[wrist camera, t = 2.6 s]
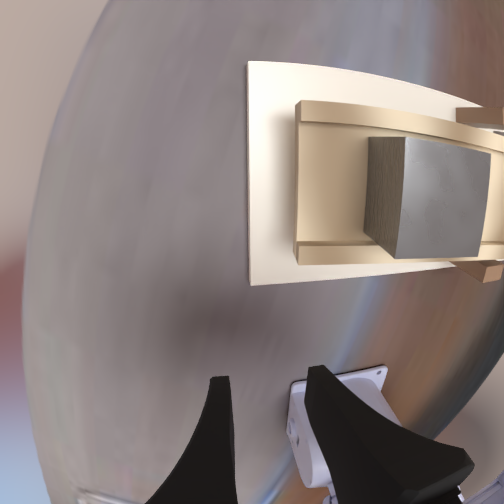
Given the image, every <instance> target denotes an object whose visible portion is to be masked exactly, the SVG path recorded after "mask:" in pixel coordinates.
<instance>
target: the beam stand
mask: <svg viewBox="0 0 504 504" xmlns="http://www.w3.org/2000/svg"><path fill="white" fill-rule="evenodd" d="M246 70H247V171H248V251H249V281H250V285H251V286H253V285H267V284H281V283H295V282H307V281H319V280H331V279H342V278H353V277H364V276H374V275H384V274H394V273H403V272H412V271H421V270H430V269H438V268H447V267H455V266H457V267H458V268H460V269H462V270H463V271H465V272H467V273H468V274H470V275H471V276H473V277H474V278H476V279H478V280H479V281H481V282H482V283H485V282H490V281H495V280H499V279H500V278H501V274H502V270H503V266H504V264H502V263H500V262H499V261H500V260H504V259H497V260H472V261H446V262H416V263H381V264H341V265H298V264H297V261H296V258H295V256H294V253H293V232H294V193H295V105H296V104H297V103H298V102H299V101H300V100H314V101H328V102H339V103H349V104H358V105H366V106H373V107H381V108H387V109H393V110H399V111H405V112H411V113H416V114H421V115H426V116H431V117H435V118H440V119H444V120H448V121H452V122H456V123H460V124H464V125H468V126H471V127H475V128H479V129H482V130H485V131H489V132H492V133H493V131H500V132H504V108H503V107H482V106H479V105H477V104H474V103H472V102H469V101H466V100H463V99H461V98H458V97H455V96H452V95H449V94H446V93H443V92H440V91H436V90H433V89H430V88H426V87H423V86H419V85H415V84H412V83H408V82H404V81H400V80H396V79H391V78H387V77H382V76H378V75H373V74H368V73H362V72H357V71H351V70H345V69H338V68H331V67H324V66H316V65H306V64H296V63H283V62H265V61H248V63H247V65H246Z"/></svg>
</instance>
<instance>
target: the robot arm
mask: <svg viewBox="0 0 504 504" xmlns="http://www.w3.org/2000/svg"><path fill="white" fill-rule="evenodd" d="M387 371H388V368H387V367H386V366H385V365H384V366H379V367H375V368H370V369H366V370H361V371H356V372H351V373H346V374H341V375H336V376H335V375H334V374H333V373H331V372H330V371H329V370H328V369H327V368H326V367H325V366H324V365H320V366H313V367H309V369H308V376H307V380H306V381H299V382H295V383H293V384H292V386H291V394H290V403H289V412H288V421H287V429H286V433H287V436H289V439H290V442H291V446H292V449H293V453H294V456H295V460H296V463H297V466H298V470H299V473H300V476H301V479H302V481H303V483H304V485H305V486H306V487H307V488H315V487H328V489H329V492H330V494H331V495H329V496H326V497H325V498H324V501H323V504H504V471H503V472H501V474H500V475H499V476H498V477H497V478H496V479H495V480H494V481H492V482H491V483H489V484H488V485H487V486H485V487H484V488H483V489H481V490H479V491H478V492H476V493H475V494H473V495H472V496H471V497H469V498H467V499H466V500H464V498H463V496H462V494H461V491H460V487H459V485H460V484H461V483H462V482H463V481H464V480H465V479H466V478H467V477H468V475H469V474H470V473H471V472H472V471H473V469H474V466H475V465H474V463H473V461H472V460H471V458H470V457H469V455H468V454H467V453H466V451H465V450H464V449H463V448H459V447H454V446H450V445H446V444H442V443H439V442H436V441H433V440H431V439H428V438H425V437H423V436H420V435H418V434H416V433H414V432H411V431H409V430H407V429H405V428H403V427H402V425H401V424H400V422H399V420H398V419H397V417H396V416H395V414H394V412H393V411H392V409H391V408H390V406H389V404H388V403H387V401H386V400H385V398H384V397H383V395H382V393H381V392H380V391H381V389H382V386H383V383H384V380H385V377H386V374H387ZM145 504H238V501H237V494H236V485H235V451H234V424H233V412H232V400H231V388H230V380H229V376H218V377H212V378H211V379H210V385H209V391H208V395H207V398H206V402H205V405H204V408H203V411H202V414H201V417H200V419H199V422H198V424H197V426H196V429H195V431H194V433H193V435H192V438H191V440H190V442H189V444H188V445H187V447H186V449H185V451H184V453H183V454H182V456H181V458H180V459H179V461H178V463H177V464H176V466H175V467H174V469H173V470H172V472H171V473H170V475H169V476H168V477H167V479H166V480H165V481H164V482H163V484H162V485H161V486H160V487H159V489H158V490H157V491H156V492H155V493H154V495H153V496H152V497H151V498H150V499H149V500H148V501H147V502H146V503H145Z"/></svg>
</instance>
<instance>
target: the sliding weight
mask: <svg viewBox="0 0 504 504" xmlns="http://www.w3.org/2000/svg"><path fill="white" fill-rule="evenodd" d="M490 167H491V154H490V153H486V152H482V151H478V150H474V149H470V148H465V147H460V146H456V145H451V144H446V143H440V142H435V141H429V140H423V139H417V138H411V137H368V167H367V187H366V203H365V216H364V227H363V232H364V233H365V234H366V235H367V236H369V237H370V238H371V239H372V240H373V241H374V242H376V243H377V244H378V245H379V246H380V247H381V248H383V249H384V250H385V251H386V252H387V253H388V254H389V255H391V256H392V257H393V258H394V259H424V258H460V257H478V254H479V249H480V244H481V239H482V233H483V227H484V221H485V215H486V207H487V199H488V190H489V180H490Z"/></svg>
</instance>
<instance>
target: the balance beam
mask: <svg viewBox="0 0 504 504" xmlns="http://www.w3.org/2000/svg"><path fill="white" fill-rule="evenodd" d="M368 137H411V138H417V139H423V140H429V141H435V142H440V143H446V144H451V145H456V146H460V147H465V148H470V149H474V150H478V151H482V152H486V153H490V154H491V167H490V180H489V190H488V199H487V207H486V215H485V221H484V227H483V233H482V239H481V244H480V249H479V254H478V257H460V258H424V259H394V258H393V257H392V256H391V255H389V254H388V253H387V252H386V251H385V250H384V249H383V248H381V247H380V246H379V245H378V244H377V243H376V242H374V241H373V240H372V239H371V238H370V237H369V236H367V235H366V234H365V233H364V232H363V227H364V216H365V203H366V187H367V167H368ZM293 253H294V256H295V258H296V261H297V264H298V265H341V264H381V263H416V262H446V261H472V260H497V259H504V132H500V131H493V133H492V132H489V131H485V130H482V129H479V128H475V127H471V126H468V125H464V124H460V123H456V122H452V121H448V120H444V119H440V118H435V117H431V116H426V115H421V114H416V113H411V112H405V111H399V110H393V109H387V108H381V107H373V106H366V105H358V104H349V103H339V102H328V101H314V100H300V101H299V102H298V103H297V104H296V105H295V193H294V232H293Z"/></svg>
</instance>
